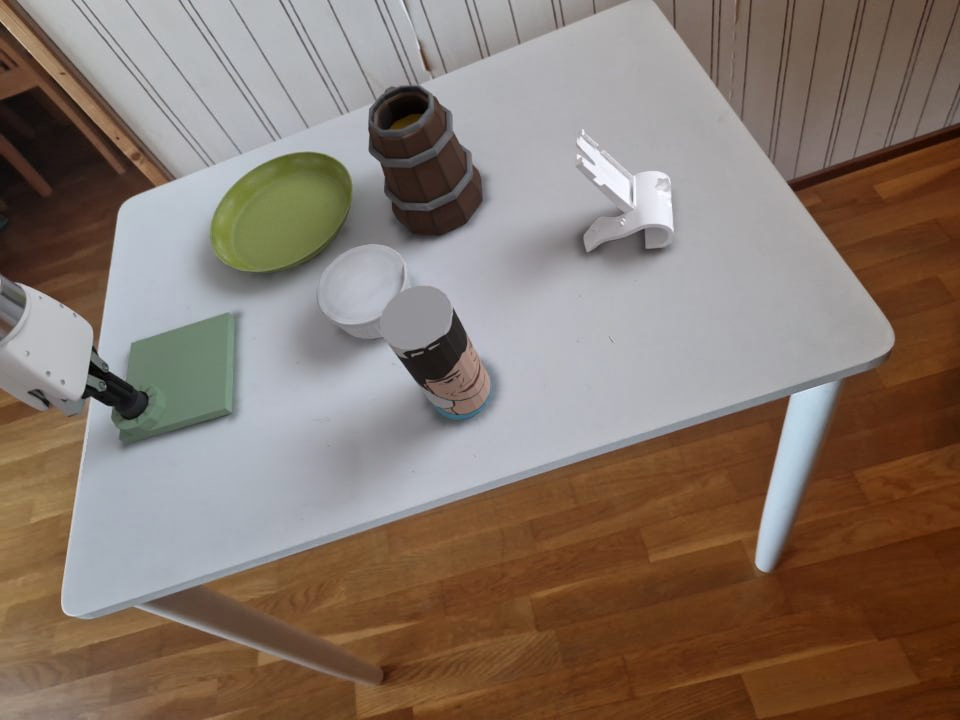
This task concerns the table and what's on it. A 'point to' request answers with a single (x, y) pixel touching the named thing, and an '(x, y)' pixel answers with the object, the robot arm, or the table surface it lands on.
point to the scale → (181, 378)
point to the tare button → (133, 405)
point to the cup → (436, 351)
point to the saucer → (282, 212)
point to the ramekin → (362, 288)
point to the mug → (422, 161)
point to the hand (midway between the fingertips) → (122, 397)
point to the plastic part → (626, 198)
